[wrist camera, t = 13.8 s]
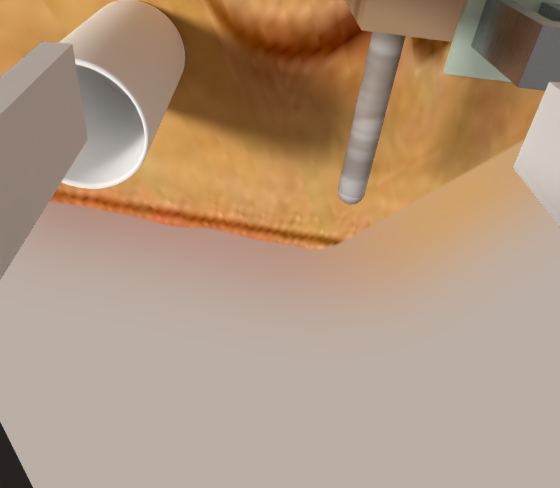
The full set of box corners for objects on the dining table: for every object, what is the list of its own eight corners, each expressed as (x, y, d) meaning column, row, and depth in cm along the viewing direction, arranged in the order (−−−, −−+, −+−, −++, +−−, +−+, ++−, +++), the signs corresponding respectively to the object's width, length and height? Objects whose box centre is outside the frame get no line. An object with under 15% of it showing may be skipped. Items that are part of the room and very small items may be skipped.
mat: (479, -45, 39) (482, -44, 38) (589, -29, 39) (593, -28, 39) (442, 71, 44) (444, 73, 43) (540, 83, 45) (543, 86, 44)
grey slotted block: (488, -6, 40) (543, 25, 32) (559, 4, 40) (631, 37, 32) (470, 46, 42) (517, 87, 34) (538, 55, 43) (600, 97, 35)
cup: (109, 106, 45) (45, 199, 33) (70, 10, 41) (-23, 74, 28) (196, 89, 45) (166, 177, 32) (167, -11, 40) (118, 45, 27)
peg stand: (333, -117, 36) (368, -110, 23) (428, -102, 36) (514, -88, 24) (296, 131, 47) (305, 228, 34) (368, 139, 48) (405, 237, 35)
